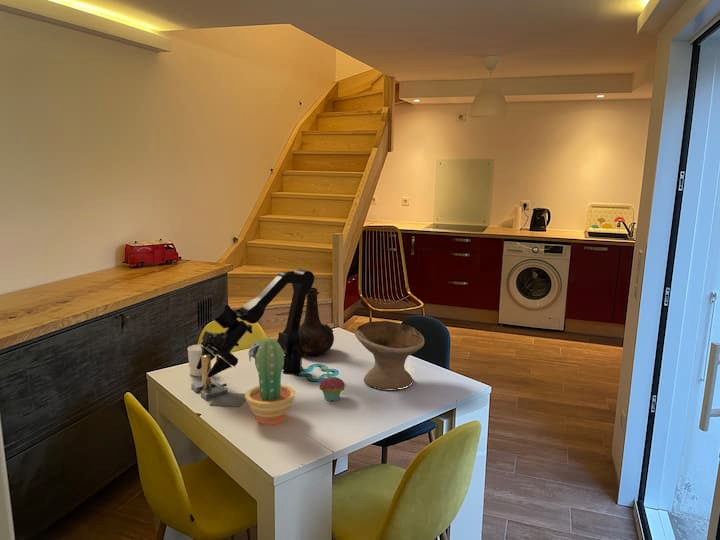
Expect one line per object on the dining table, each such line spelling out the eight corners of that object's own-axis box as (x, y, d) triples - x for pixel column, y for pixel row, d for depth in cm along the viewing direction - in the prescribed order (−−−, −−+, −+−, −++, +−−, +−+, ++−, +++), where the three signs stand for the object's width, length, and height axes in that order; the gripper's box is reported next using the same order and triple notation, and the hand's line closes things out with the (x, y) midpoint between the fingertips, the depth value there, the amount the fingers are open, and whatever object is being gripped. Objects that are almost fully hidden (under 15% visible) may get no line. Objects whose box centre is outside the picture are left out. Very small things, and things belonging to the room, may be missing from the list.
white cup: (204, 377, 193) (203, 351, 191) (184, 375, 195) (183, 349, 193) (214, 370, 201) (213, 345, 199) (195, 368, 202) (194, 343, 201)
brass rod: (212, 390, 181) (211, 354, 179) (209, 394, 178) (208, 357, 176) (204, 390, 181) (203, 354, 179) (201, 393, 179) (199, 357, 176)
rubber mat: (249, 395, 178) (249, 393, 178) (239, 407, 168) (239, 406, 168) (221, 393, 179) (221, 392, 179) (209, 405, 169) (209, 404, 169)
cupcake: (325, 405, 171) (325, 370, 169) (315, 395, 179) (315, 361, 177) (348, 400, 175) (349, 366, 173) (338, 391, 183) (338, 358, 181)
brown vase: (336, 358, 217) (337, 292, 213) (293, 360, 213) (293, 293, 209) (330, 345, 234) (330, 283, 230) (289, 347, 231) (289, 284, 226)
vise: (218, 382, 189) (218, 377, 189) (234, 393, 180) (234, 388, 179) (191, 388, 183) (191, 383, 182) (206, 400, 173) (206, 395, 173)
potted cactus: (275, 403, 172) (275, 329, 168) (306, 418, 161) (306, 340, 157) (235, 417, 161) (233, 339, 157) (265, 434, 150) (264, 351, 146)
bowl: (369, 399, 177) (370, 342, 173) (343, 374, 200) (344, 323, 196) (436, 390, 186) (438, 335, 183) (404, 366, 209) (406, 318, 206)
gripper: (205, 316, 186) (175, 352, 180) (228, 328, 171) (197, 367, 166) (226, 334, 192) (198, 369, 187) (250, 347, 178) (220, 385, 172)
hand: (202, 372), depth 178 cm, fingers open, 9 cm apart
